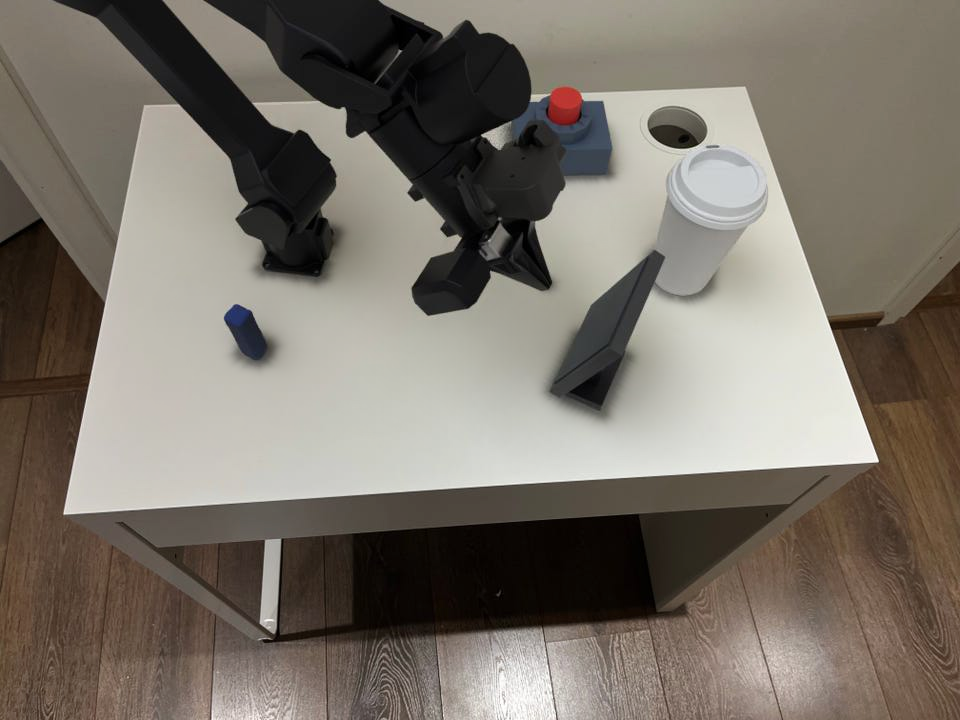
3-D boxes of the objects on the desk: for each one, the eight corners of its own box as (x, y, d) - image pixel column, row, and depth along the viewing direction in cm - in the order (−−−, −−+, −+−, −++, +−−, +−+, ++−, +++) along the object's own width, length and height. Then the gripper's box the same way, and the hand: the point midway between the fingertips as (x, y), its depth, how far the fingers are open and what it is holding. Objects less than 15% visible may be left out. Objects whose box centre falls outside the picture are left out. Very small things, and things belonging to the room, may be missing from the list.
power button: (549, 126, 80) (551, 108, 78) (546, 104, 82) (548, 86, 80) (580, 126, 80) (584, 108, 78) (576, 104, 82) (580, 86, 80)
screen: (547, 390, 66) (608, 346, 55) (589, 304, 71) (653, 248, 60) (559, 398, 66) (622, 355, 56) (600, 311, 71) (665, 256, 60)
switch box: (515, 176, 84) (518, 138, 78) (510, 128, 88) (513, 89, 82) (606, 174, 84) (615, 136, 79) (597, 127, 88) (606, 88, 83)
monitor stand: (553, 390, 70) (560, 363, 65) (578, 337, 73) (587, 306, 68) (599, 411, 69) (611, 384, 64) (623, 355, 72) (636, 326, 67)
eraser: (257, 363, 71) (239, 327, 65) (240, 353, 71) (220, 316, 65) (271, 347, 71) (254, 310, 66) (253, 337, 72) (235, 300, 66)
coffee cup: (726, 248, 79) (779, 149, 66) (717, 316, 75) (772, 224, 62) (642, 229, 80) (678, 128, 67) (629, 296, 76) (665, 201, 63)
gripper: (444, 213, 44) (577, 364, 52) (556, 43, 53) (657, 195, 60) (352, 245, 53) (479, 372, 60) (462, 94, 61) (561, 222, 69)
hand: (547, 287), depth 62 cm, fingers closed
